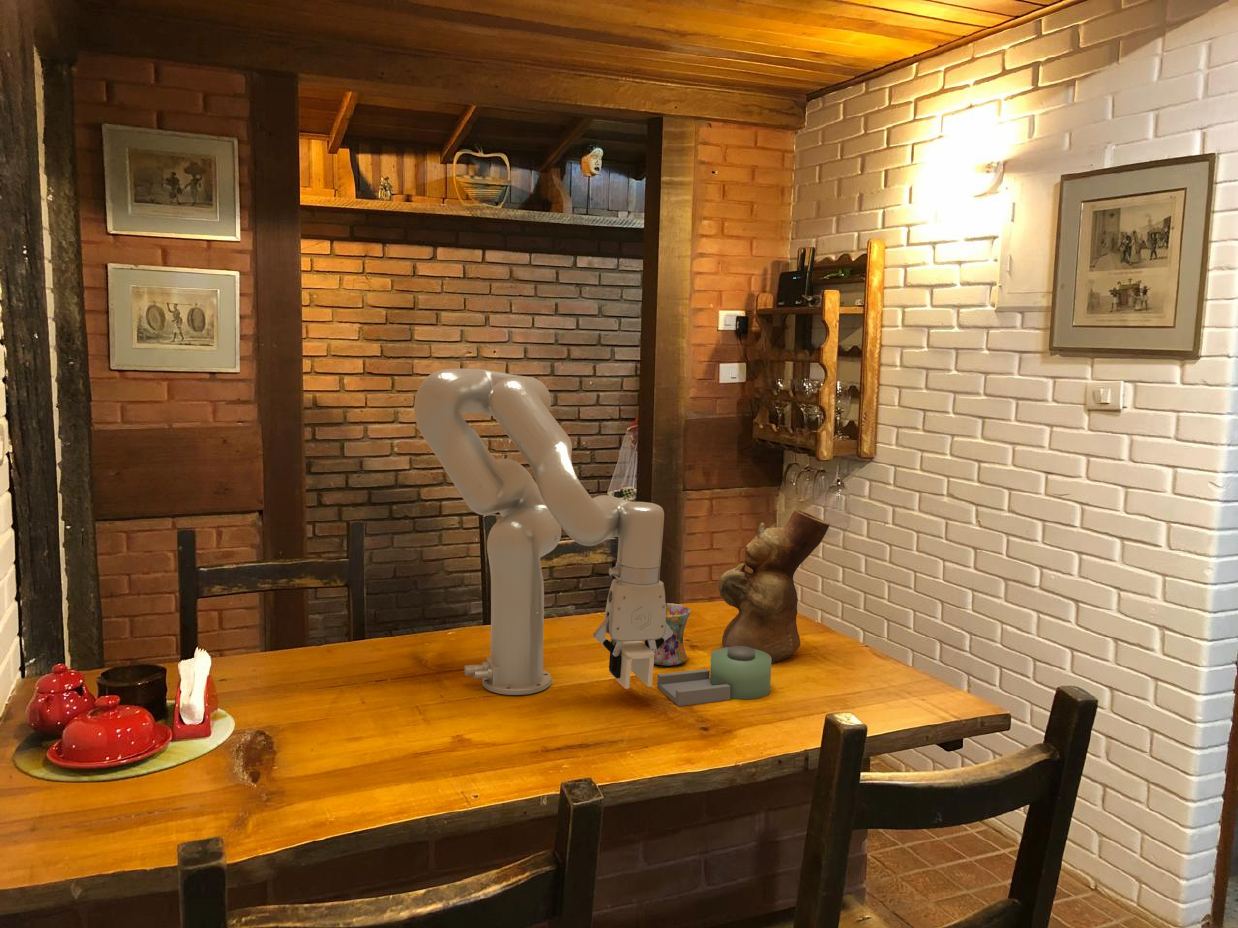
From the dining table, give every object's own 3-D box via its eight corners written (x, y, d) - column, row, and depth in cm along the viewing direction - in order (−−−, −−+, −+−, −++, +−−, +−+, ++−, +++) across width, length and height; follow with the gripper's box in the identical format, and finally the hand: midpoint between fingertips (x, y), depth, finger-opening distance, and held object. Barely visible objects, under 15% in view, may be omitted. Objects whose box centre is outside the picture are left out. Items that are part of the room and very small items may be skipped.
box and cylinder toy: (680, 707, 158) (681, 667, 157) (655, 685, 168) (656, 647, 168) (781, 695, 165) (783, 656, 164) (751, 674, 175) (753, 638, 175)
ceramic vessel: (714, 639, 197) (719, 501, 193) (816, 643, 196) (823, 505, 193) (719, 664, 181) (725, 514, 178) (830, 668, 180) (838, 518, 177)
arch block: (651, 686, 158) (654, 653, 157) (624, 688, 156) (627, 654, 156) (634, 670, 166) (637, 638, 165) (609, 671, 164) (611, 639, 163)
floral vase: (698, 663, 181) (700, 611, 180) (661, 672, 176) (663, 618, 175) (661, 647, 191) (662, 597, 190) (625, 654, 186) (626, 603, 184)
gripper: (598, 580, 152) (591, 685, 154) (691, 578, 158) (683, 679, 161) (584, 569, 159) (577, 669, 161) (673, 567, 165) (666, 664, 167)
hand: (630, 673), depth 161 cm, fingers closed on arch block, 5 cm apart
